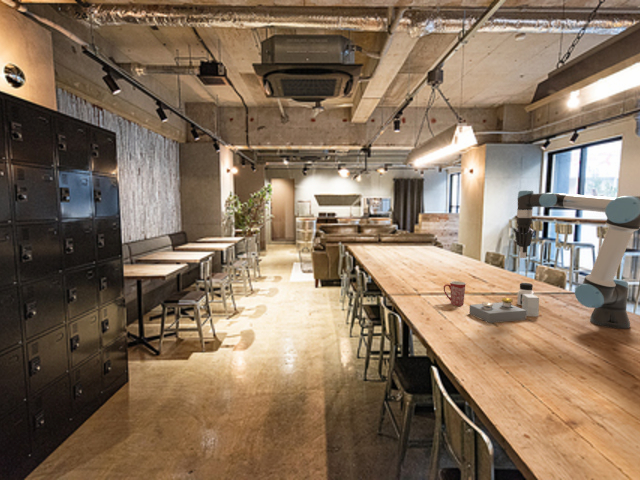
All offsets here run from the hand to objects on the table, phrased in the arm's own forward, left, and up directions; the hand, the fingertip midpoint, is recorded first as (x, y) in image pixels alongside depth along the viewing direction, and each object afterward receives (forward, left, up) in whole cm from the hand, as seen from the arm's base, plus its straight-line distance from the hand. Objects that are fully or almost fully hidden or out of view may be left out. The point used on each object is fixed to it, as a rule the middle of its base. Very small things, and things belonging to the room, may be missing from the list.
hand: (522, 257), depth 196 cm
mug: (+15, +34, -30) cm, 47 cm away
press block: (-12, +26, -29) cm, 41 cm away
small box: (-13, +6, -30) cm, 33 cm away
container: (+4, -7, -30) cm, 31 cm away
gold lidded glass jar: (-12, +20, -27) cm, 36 cm away
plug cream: (-12, +32, -29) cm, 45 cm away
